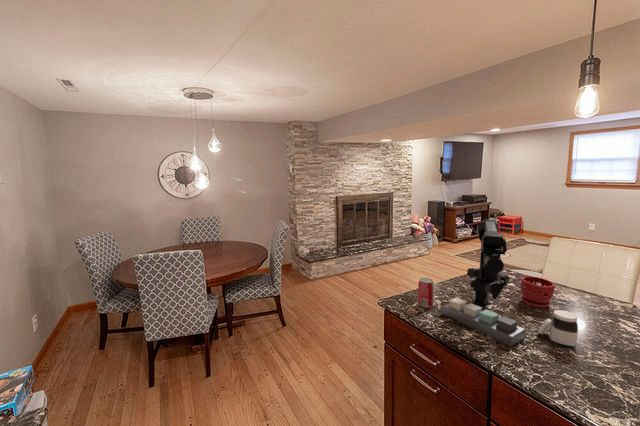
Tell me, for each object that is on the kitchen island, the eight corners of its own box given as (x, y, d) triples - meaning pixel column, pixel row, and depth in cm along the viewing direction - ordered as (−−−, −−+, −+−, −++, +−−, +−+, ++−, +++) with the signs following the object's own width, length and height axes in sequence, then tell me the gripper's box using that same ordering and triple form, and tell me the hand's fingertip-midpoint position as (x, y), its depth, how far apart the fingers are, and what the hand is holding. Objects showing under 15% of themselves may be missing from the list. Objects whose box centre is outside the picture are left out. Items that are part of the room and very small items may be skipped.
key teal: (485, 318, 126) (486, 309, 126) (497, 324, 122) (498, 314, 121) (479, 322, 124) (479, 312, 123) (491, 327, 119) (492, 317, 119)
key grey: (470, 312, 132) (470, 303, 132) (481, 317, 128) (481, 307, 127) (463, 315, 130) (464, 306, 129) (474, 320, 125) (475, 310, 125)
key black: (502, 326, 120) (503, 316, 120) (516, 331, 116) (517, 321, 116) (496, 329, 118) (497, 319, 117) (509, 335, 114) (510, 325, 113)
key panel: (455, 308, 141) (455, 300, 141) (524, 338, 116) (525, 329, 116) (441, 314, 136) (442, 306, 136) (511, 346, 111) (512, 336, 110)
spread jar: (577, 352, 107) (581, 322, 105) (539, 343, 113) (542, 314, 111) (571, 337, 117) (575, 309, 115) (536, 329, 123) (539, 302, 121)
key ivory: (456, 306, 138) (456, 297, 138) (466, 310, 134) (466, 301, 133) (449, 309, 136) (449, 300, 135) (459, 313, 131) (459, 304, 131)
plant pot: (523, 307, 142) (525, 283, 141) (516, 296, 154) (518, 274, 153) (556, 312, 137) (559, 287, 136) (547, 300, 150) (549, 277, 148)
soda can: (434, 309, 141) (435, 283, 139) (418, 308, 143) (419, 282, 141) (431, 303, 148) (432, 278, 146) (416, 301, 149) (417, 277, 148)
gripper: (484, 256, 131) (482, 290, 133) (458, 263, 122) (456, 299, 124) (511, 263, 122) (508, 299, 124) (485, 271, 112) (483, 310, 114)
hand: (488, 301), depth 122 cm, fingers open, 8 cm apart
